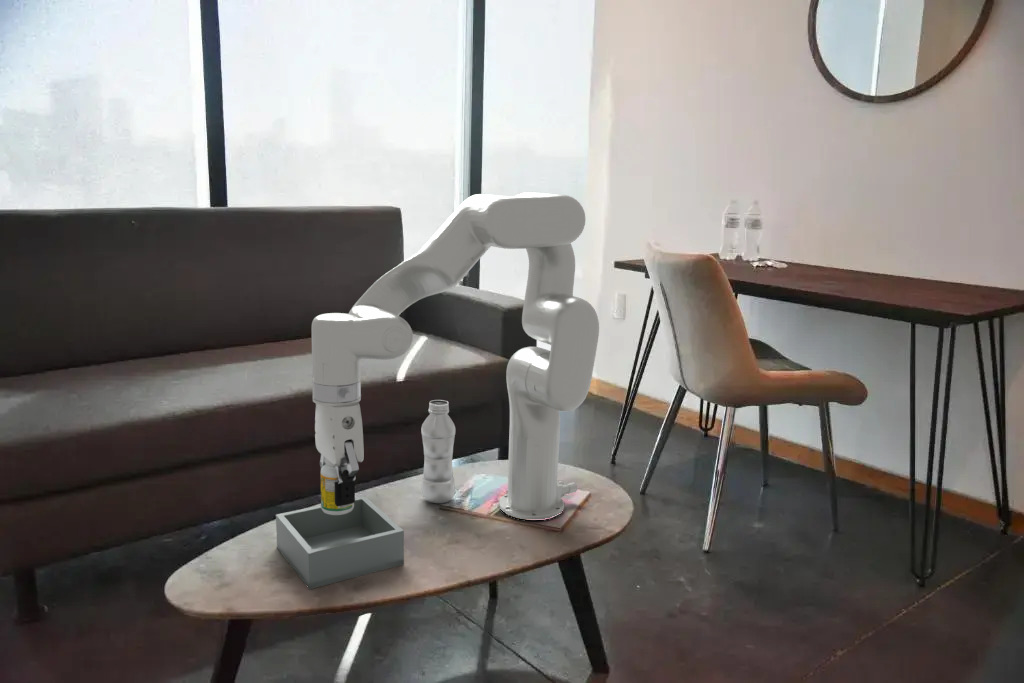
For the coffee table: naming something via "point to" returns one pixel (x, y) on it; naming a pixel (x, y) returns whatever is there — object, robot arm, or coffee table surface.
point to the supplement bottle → (331, 490)
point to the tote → (339, 542)
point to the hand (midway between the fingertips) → (337, 496)
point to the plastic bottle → (438, 454)
